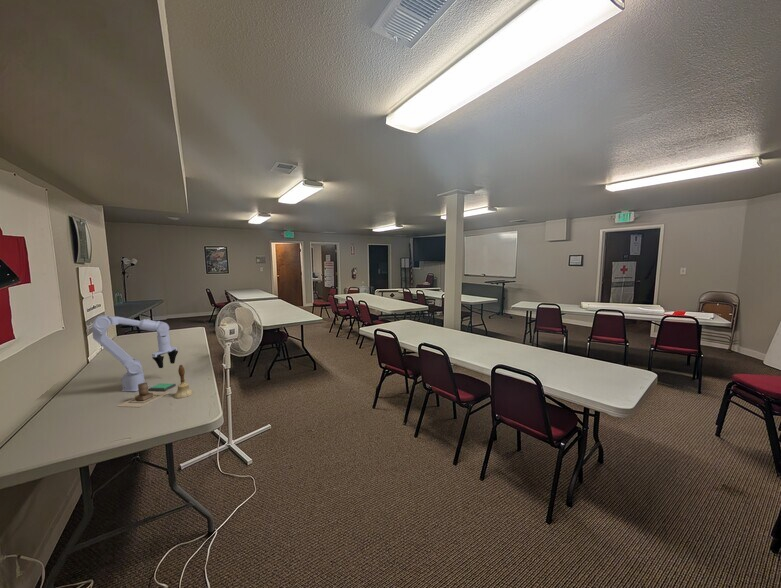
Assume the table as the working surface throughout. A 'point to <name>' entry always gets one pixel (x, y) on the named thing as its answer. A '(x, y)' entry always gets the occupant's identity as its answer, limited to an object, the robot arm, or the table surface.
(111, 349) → the robot arm
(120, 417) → the table surface
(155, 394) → the plate
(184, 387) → the hand bell
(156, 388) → the ink pad
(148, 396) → the stamp
